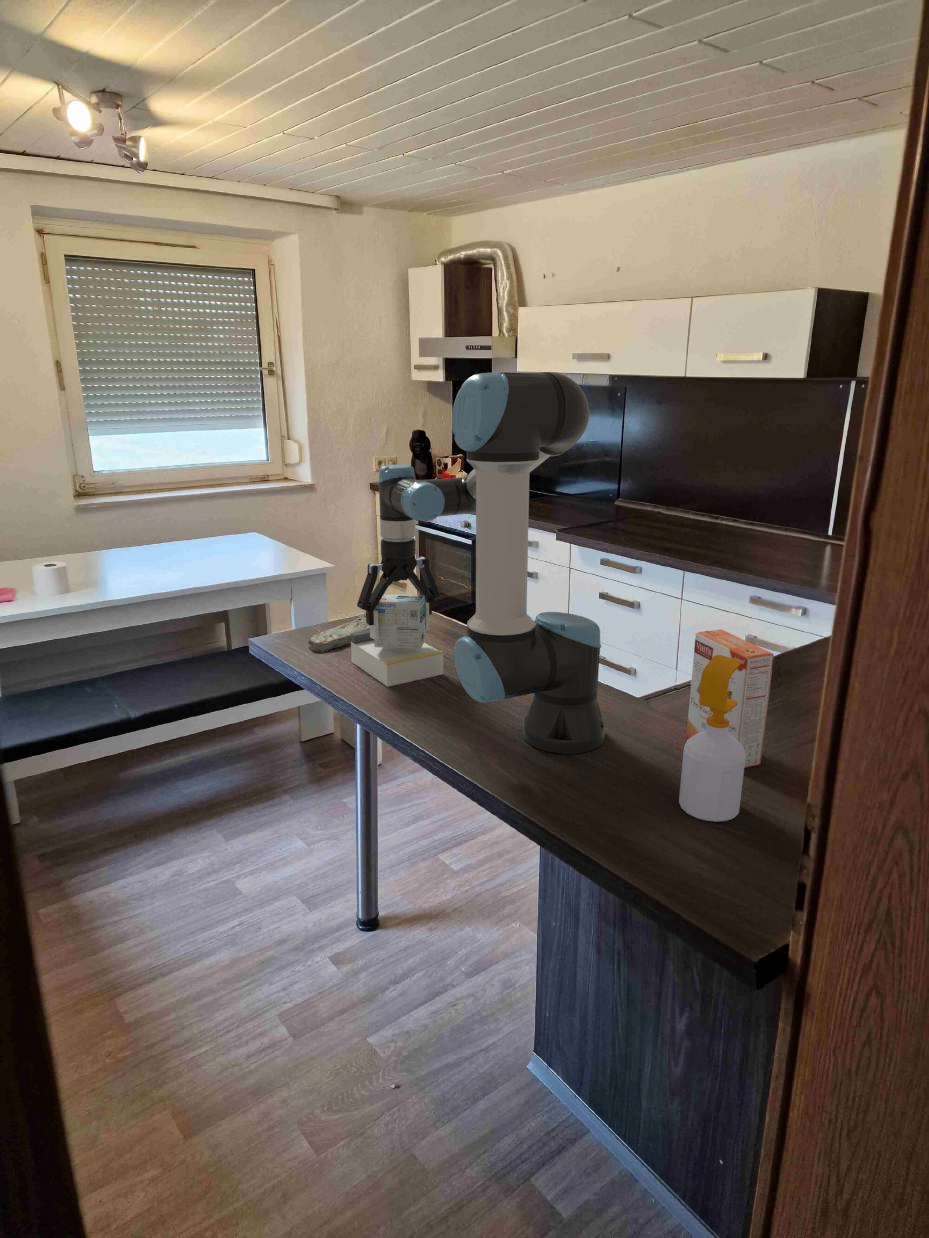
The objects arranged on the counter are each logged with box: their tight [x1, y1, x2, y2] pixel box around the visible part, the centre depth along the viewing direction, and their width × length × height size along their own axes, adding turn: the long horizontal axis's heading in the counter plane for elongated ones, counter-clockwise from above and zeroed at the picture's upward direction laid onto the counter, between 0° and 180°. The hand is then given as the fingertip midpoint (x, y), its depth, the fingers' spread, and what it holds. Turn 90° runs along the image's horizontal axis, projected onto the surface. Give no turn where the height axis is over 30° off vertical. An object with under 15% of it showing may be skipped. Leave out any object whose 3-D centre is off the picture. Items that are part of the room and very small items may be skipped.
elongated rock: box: [307, 611, 370, 653], centre depth 207 cm, size 35×5×10 cm
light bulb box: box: [374, 593, 427, 649], centre depth 179 cm, size 11×7×11 cm, turn 84°
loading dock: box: [350, 630, 444, 688], centre depth 183 cm, size 18×14×7 cm
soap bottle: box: [678, 655, 746, 823], centre depth 122 cm, size 9×9×25 cm
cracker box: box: [686, 628, 775, 769], centre depth 141 cm, size 14×6×21 cm, turn 21°
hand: (400, 633), depth 180 cm, fingers closed on light bulb box, 12 cm apart
